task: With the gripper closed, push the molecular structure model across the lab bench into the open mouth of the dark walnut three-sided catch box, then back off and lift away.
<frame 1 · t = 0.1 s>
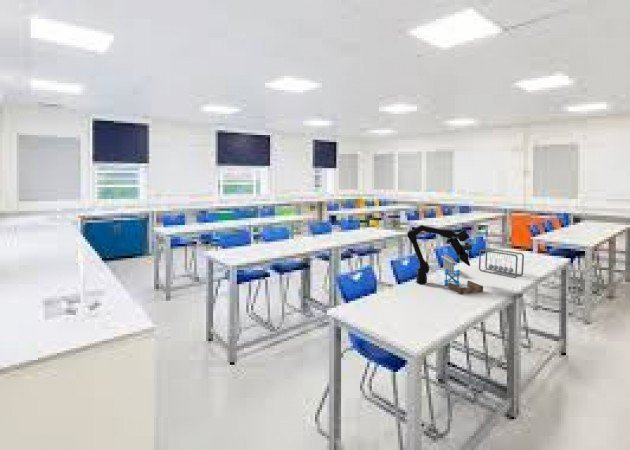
hand: (468, 264, 260), 15 cm above the table, tool tilted 35°, fingers open, 9 cm apart
molecular structure: (451, 284, 264), on the table
catch box: (464, 289, 251), on the table
test tube rack: (448, 272, 298), on the table
newton's cradle: (500, 273, 293), on the table
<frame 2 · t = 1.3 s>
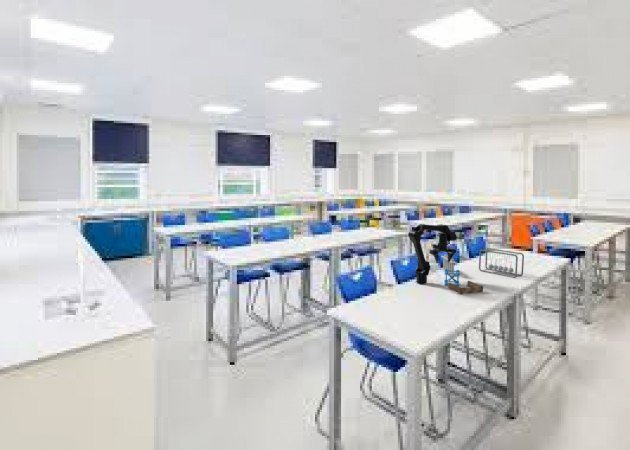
hand: (442, 262, 274), 13 cm above the table, tool pointing down, fingers open, 9 cm apart
nothing on the table moved.
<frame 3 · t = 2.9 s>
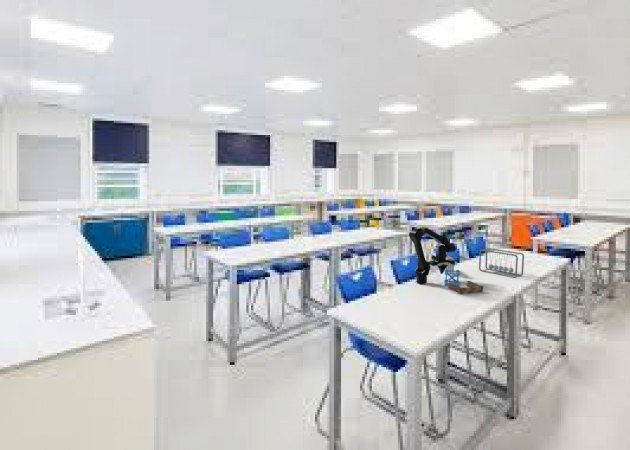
hand: (441, 274, 276), 5 cm above the table, tool pointing down, fingers closed
nothing on the table moved.
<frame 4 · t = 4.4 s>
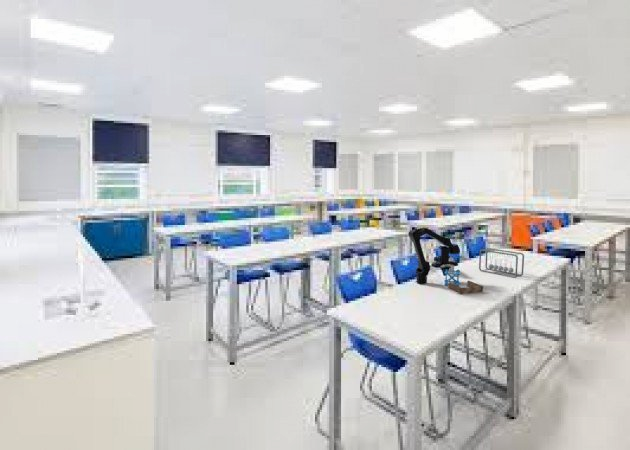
hand: (444, 275, 273), 4 cm above the table, tool pointing down, fingers closed
molecular structure: (451, 284, 264), on the table, touching gripper
everything else where it was.
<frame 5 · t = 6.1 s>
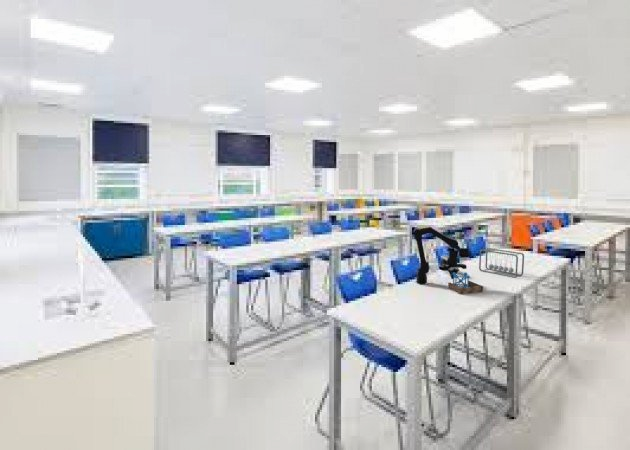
hand: (452, 278, 263), 4 cm above the table, tool pointing down, fingers closed
molecular structure: (460, 288, 256), on the table, touching gripper
everything else where it was.
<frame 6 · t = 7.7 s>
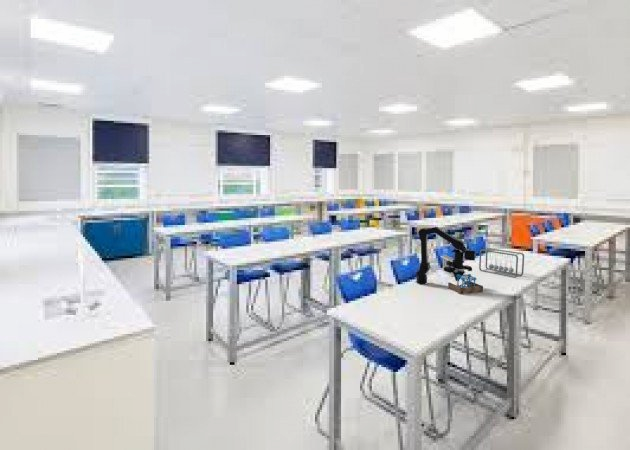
hand: (457, 281, 257), 4 cm above the table, tool pointing down, fingers closed
molecular structure: (465, 290, 250), on the table, touching catch box, gripper
everything else where it was.
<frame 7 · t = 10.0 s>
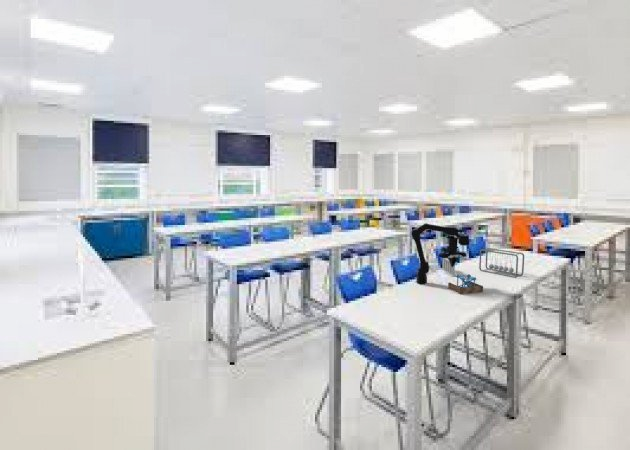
hand: (452, 266, 262), 13 cm above the table, tool pointing down, fingers closed
molecular structure: (465, 290, 250), on the table
everything else where it was.
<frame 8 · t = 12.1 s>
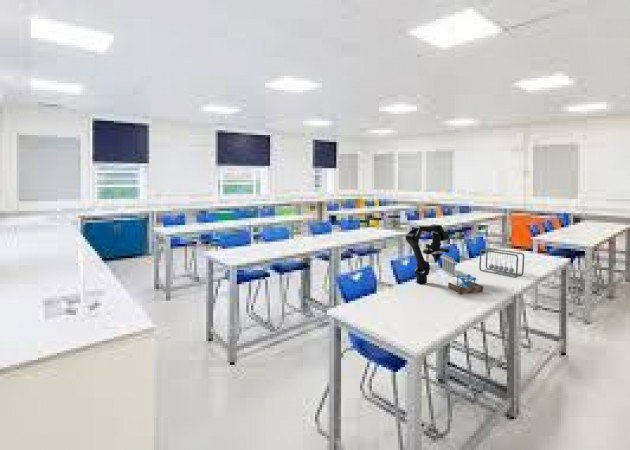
hand: (435, 262, 275), 13 cm above the table, tool pointing down, fingers closed
nothing on the table moved.
at the end: molecular structure inside the target area (0.4 cm from its centre), on the table; molecular structure moved 14.8 cm from its start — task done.
